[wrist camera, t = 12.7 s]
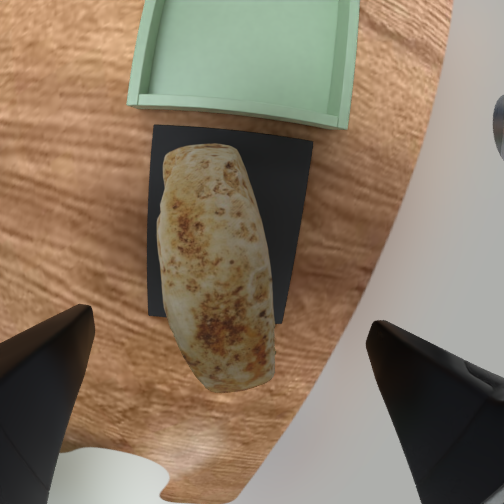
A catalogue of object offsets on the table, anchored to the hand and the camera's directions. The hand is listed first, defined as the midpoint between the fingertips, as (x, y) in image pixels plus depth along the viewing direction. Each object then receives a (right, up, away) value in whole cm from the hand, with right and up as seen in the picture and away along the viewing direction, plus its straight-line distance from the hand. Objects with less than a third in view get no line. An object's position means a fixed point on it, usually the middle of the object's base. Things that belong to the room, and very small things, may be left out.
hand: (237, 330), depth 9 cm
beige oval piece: (-1, +4, +9) cm, 10 cm away
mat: (-1, +3, +10) cm, 10 cm away
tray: (0, +16, +5) cm, 17 cm away
